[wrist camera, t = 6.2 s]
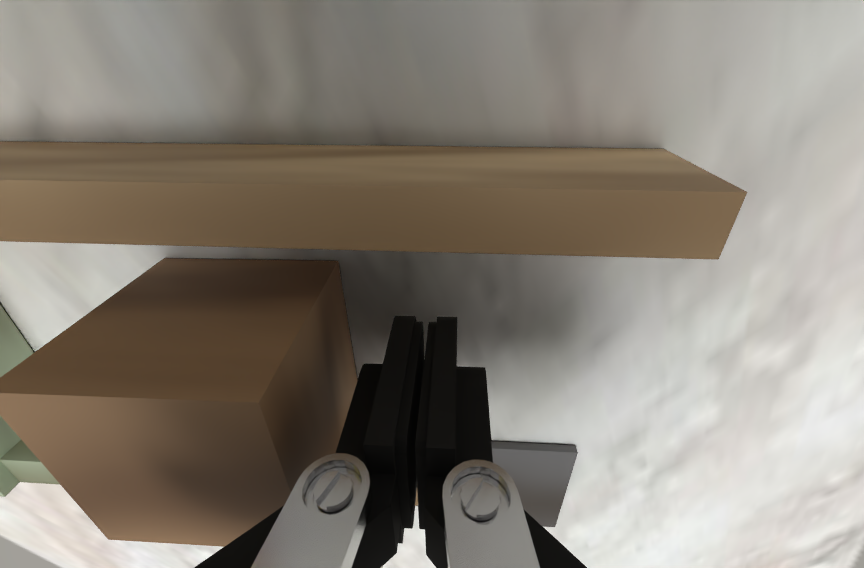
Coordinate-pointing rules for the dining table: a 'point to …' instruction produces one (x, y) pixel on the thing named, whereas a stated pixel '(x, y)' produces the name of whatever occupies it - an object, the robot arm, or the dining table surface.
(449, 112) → the dining table surface
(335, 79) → the dining table surface
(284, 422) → the block
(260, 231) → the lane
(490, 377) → the dining table surface
